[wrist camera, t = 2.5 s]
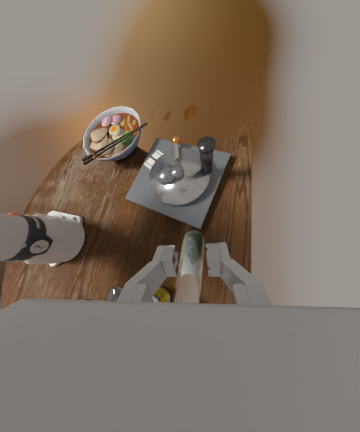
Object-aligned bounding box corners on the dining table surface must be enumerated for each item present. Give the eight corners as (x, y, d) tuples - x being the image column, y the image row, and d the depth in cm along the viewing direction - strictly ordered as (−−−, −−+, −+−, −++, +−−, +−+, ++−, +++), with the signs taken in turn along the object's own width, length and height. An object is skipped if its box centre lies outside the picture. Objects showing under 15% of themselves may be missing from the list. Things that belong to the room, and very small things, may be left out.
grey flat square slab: (128, 200, 45) (123, 197, 43) (158, 142, 49) (155, 136, 47) (200, 229, 38) (200, 228, 35) (229, 158, 42) (231, 151, 39)
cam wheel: (150, 209, 40) (128, 194, 29) (151, 148, 46) (134, 115, 35) (216, 202, 37) (220, 181, 25) (208, 136, 42) (209, 96, 31)
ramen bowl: (140, 113, 55) (129, 91, 47) (161, 151, 48) (152, 132, 40) (91, 143, 57) (73, 126, 49) (104, 183, 50) (85, 171, 42)
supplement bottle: (172, 288, 36) (159, 303, 26) (169, 311, 34) (154, 336, 25) (153, 284, 37) (134, 297, 27) (149, 306, 36) (128, 327, 26)
